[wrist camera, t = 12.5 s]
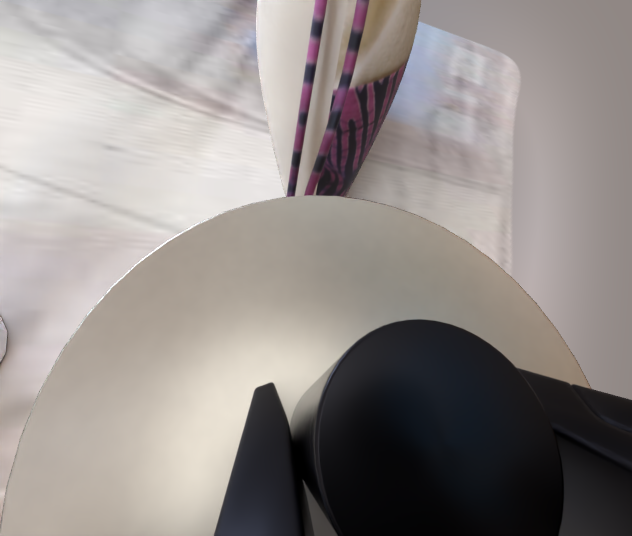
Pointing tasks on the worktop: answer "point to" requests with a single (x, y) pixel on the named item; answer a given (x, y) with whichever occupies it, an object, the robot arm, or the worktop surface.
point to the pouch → (329, 83)
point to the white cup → (2, 339)
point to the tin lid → (301, 383)
